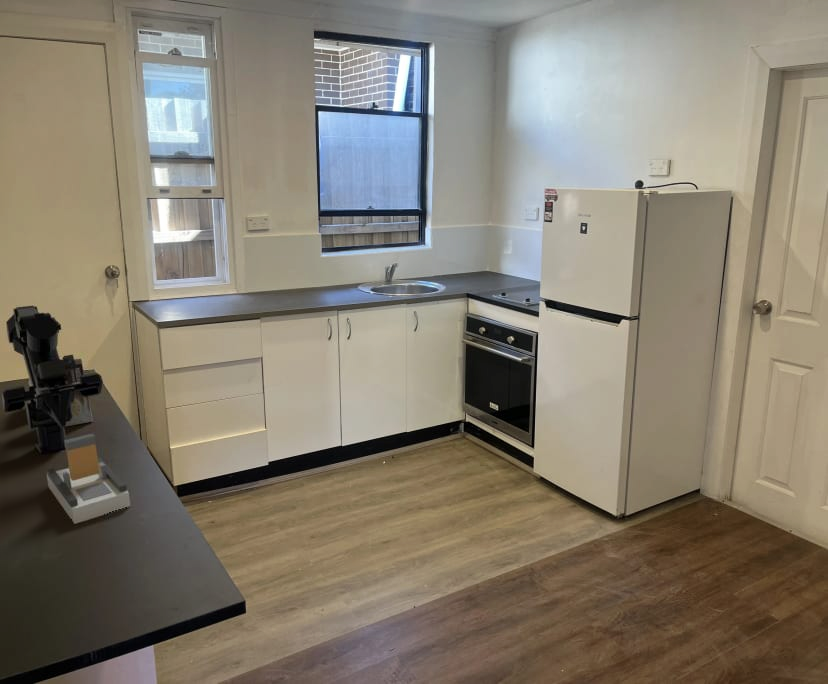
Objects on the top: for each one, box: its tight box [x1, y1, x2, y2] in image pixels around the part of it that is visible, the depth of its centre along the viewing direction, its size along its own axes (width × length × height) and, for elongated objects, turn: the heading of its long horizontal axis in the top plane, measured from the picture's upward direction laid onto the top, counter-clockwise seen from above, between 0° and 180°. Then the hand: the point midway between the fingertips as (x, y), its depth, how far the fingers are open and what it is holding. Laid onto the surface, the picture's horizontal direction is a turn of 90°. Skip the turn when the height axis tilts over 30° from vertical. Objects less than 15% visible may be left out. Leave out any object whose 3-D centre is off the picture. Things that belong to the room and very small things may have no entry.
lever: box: [64, 433, 100, 481], centre depth 130 cm, size 2×5×8 cm, turn 130°
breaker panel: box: [46, 456, 131, 525], centre depth 131 cm, size 20×10×6 cm, turn 41°
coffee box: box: [66, 358, 93, 427], centre depth 171 cm, size 9×6×16 cm
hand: (63, 426), depth 138 cm, fingers closed
